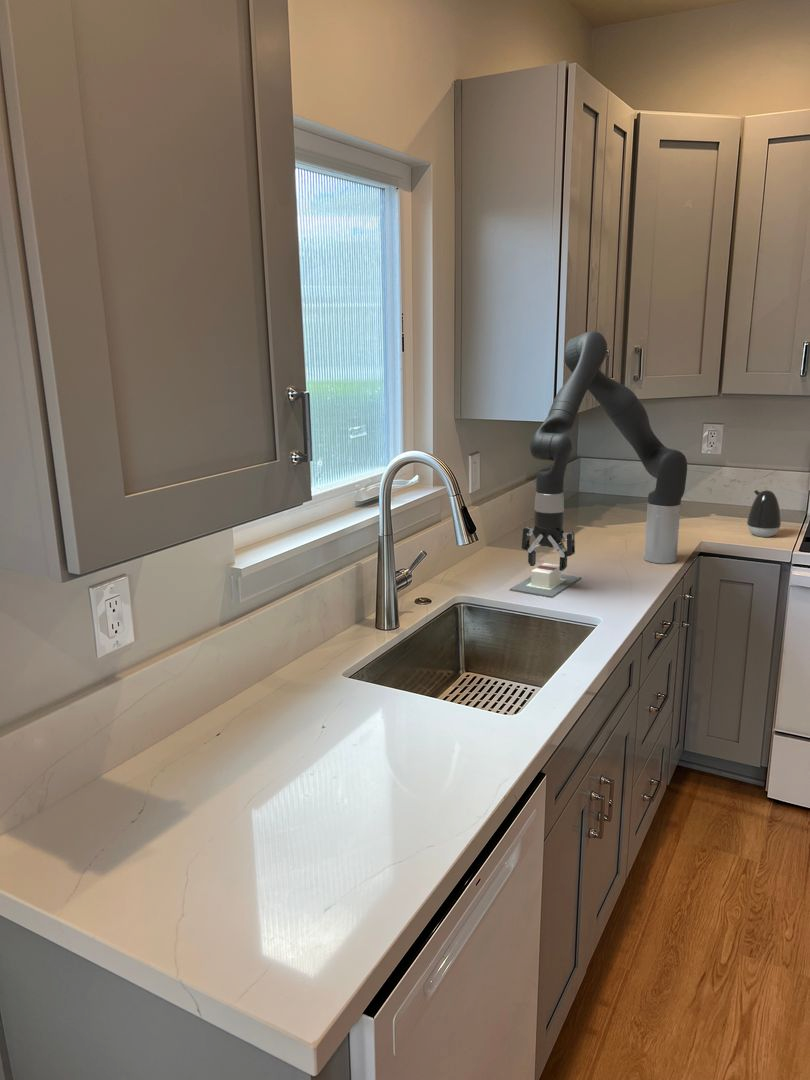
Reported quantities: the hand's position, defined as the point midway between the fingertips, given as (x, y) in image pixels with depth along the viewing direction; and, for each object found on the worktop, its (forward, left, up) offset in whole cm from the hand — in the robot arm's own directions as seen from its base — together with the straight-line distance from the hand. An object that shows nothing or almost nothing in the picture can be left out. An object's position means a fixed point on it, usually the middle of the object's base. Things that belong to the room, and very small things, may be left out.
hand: (547, 567), depth 214 cm
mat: (0, 0, -5) cm, 5 cm away
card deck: (0, 0, -4) cm, 4 cm away
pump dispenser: (-88, +39, -5) cm, 96 cm away
